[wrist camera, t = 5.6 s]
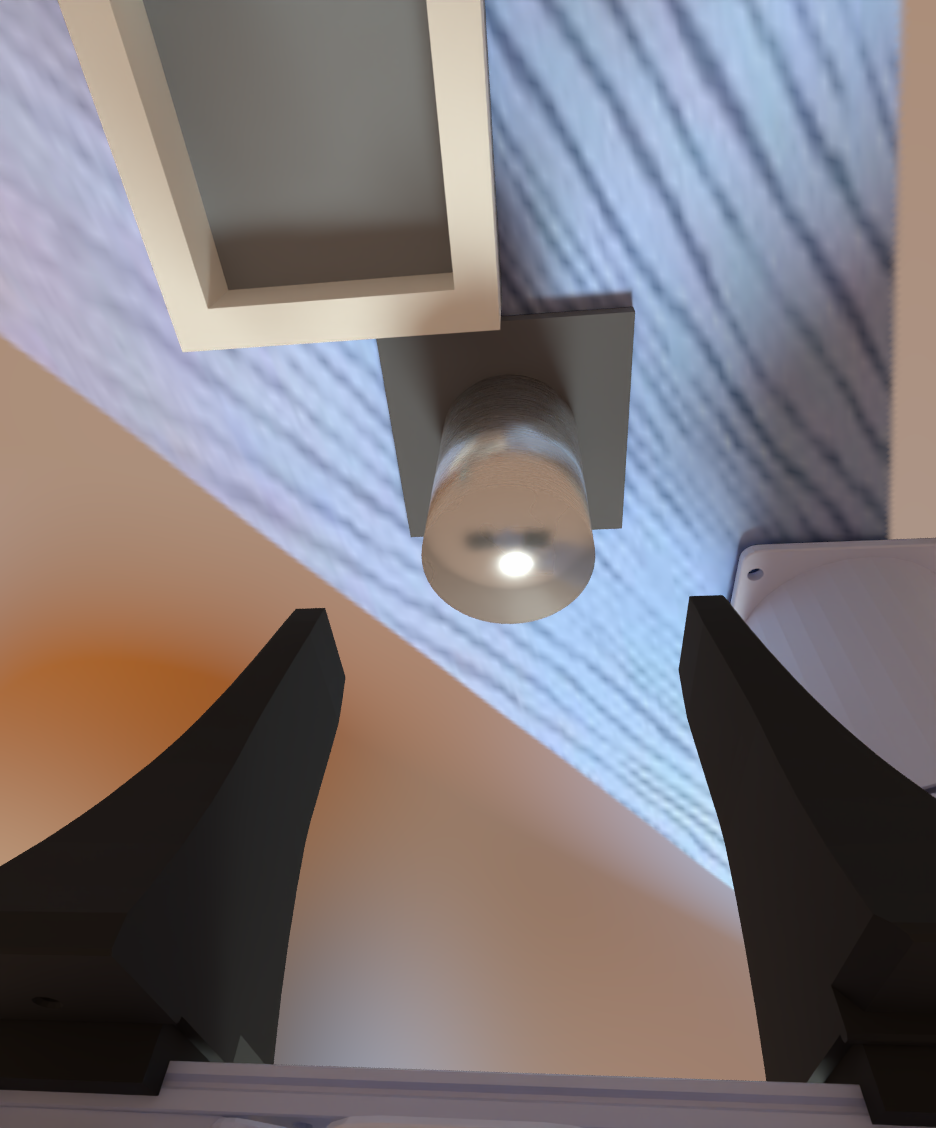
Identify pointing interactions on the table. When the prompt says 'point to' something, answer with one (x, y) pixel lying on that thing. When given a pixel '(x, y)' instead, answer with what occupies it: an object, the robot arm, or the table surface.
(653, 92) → the table surface
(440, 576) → the billet
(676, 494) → the table surface
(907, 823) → the robot arm
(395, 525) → the table surface
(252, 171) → the station
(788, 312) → the table surface
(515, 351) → the mat
